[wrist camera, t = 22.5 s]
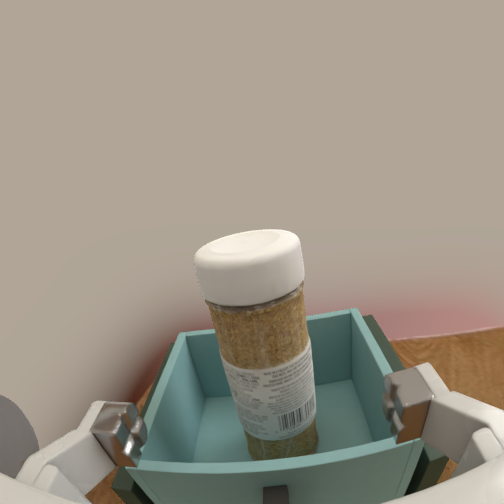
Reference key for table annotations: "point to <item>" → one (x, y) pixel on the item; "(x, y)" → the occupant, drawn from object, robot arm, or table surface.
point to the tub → (278, 470)
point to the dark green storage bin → (430, 458)
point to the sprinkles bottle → (263, 337)
